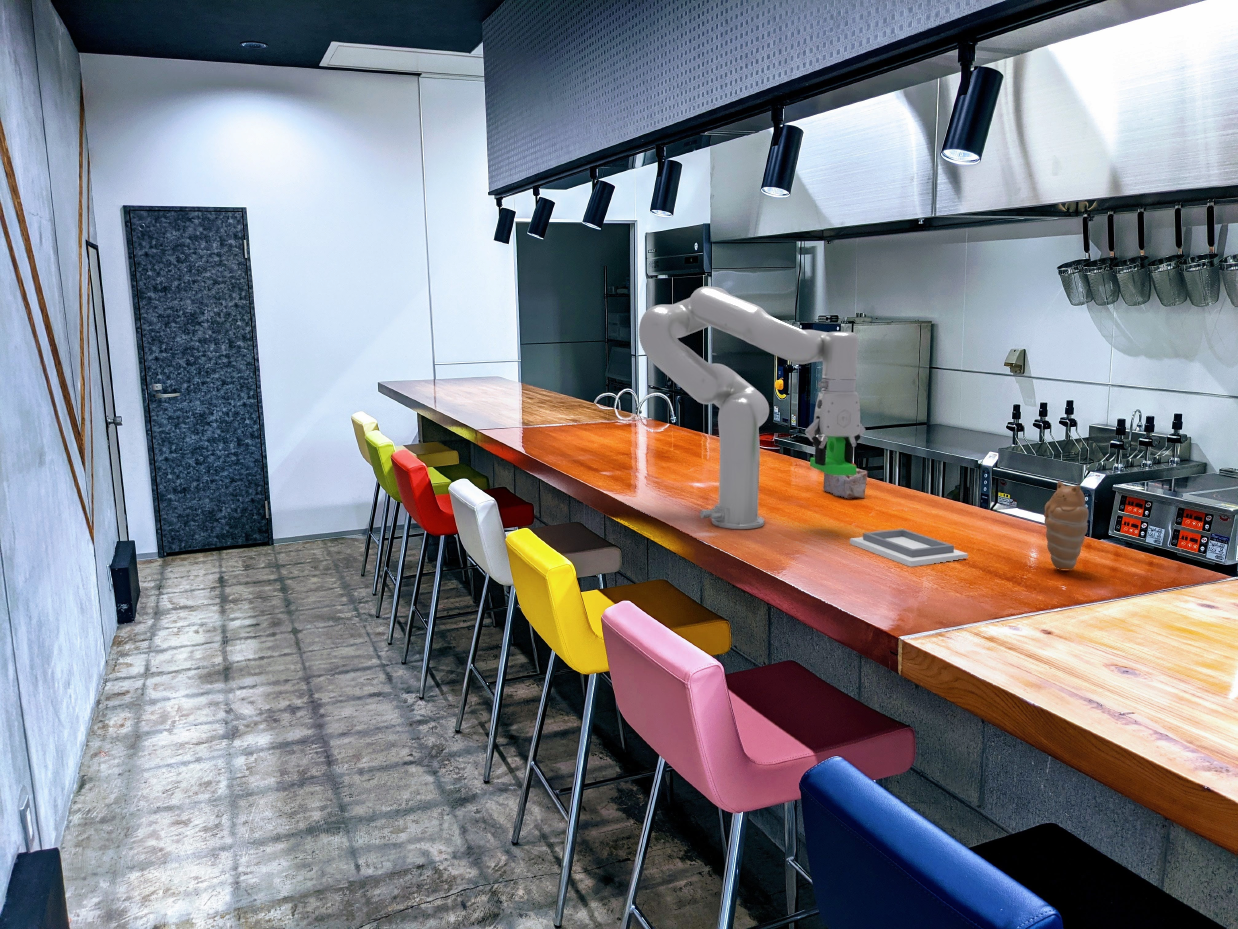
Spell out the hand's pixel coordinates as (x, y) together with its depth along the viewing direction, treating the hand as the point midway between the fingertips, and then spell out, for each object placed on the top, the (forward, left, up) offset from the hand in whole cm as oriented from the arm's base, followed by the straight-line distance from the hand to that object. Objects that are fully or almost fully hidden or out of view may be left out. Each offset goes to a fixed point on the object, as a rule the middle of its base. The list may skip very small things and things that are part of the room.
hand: (833, 463), depth 215 cm
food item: (+30, +35, -17) cm, 49 cm away
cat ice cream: (+24, -44, -17) cm, 53 cm away
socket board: (+5, -20, -16) cm, 27 cm away
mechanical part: (0, 0, -2) cm, 2 cm away
